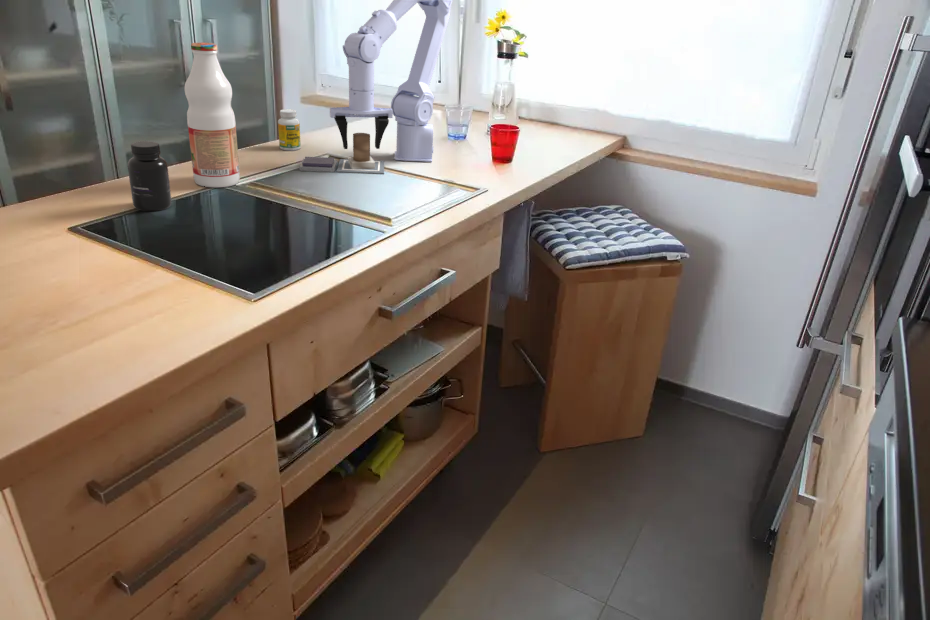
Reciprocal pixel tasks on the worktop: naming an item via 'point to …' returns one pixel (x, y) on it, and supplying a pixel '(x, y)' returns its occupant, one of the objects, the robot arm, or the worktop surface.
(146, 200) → the supplement bottle
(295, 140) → the supplement bottle
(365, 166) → the stamp
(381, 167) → the slate mat
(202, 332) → the worktop surface
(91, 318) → the worktop surface
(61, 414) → the worktop surface
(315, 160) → the ink pad
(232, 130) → the fruit juice
